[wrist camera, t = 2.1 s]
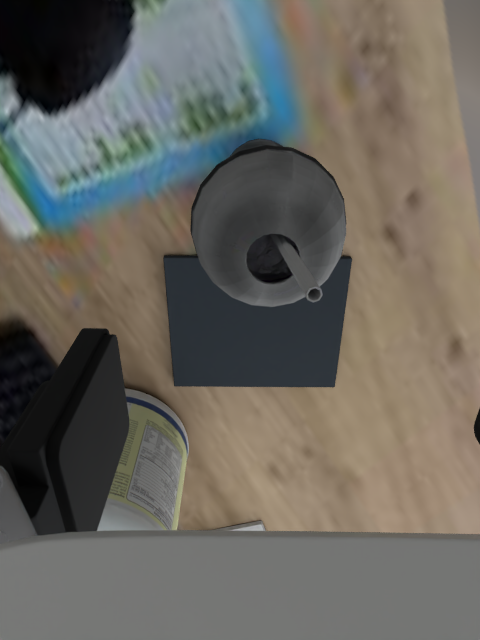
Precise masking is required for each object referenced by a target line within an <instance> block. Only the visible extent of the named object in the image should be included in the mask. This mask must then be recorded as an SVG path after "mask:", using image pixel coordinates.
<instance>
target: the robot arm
mask: <svg viewBox="0 0 480 640" xmlns="http://www.w3.org/2000/svg"><path fill="white" fill-rule="evenodd" d="M128 432H129V414H128V407H127V400H126V394H125V387H124V380H123V374H122V367H121V361H120V354H119V347H118V341H117V337H116V335H110V334H109V331H108V330H107V329H91V328H84V329H82V330H81V331H80V333H79V335H78V336H77V338H76V339H75V341H74V343H73V344H72V346H71V347H70V349H69V351H68V352H67V354H66V355H65V357H64V359H63V360H62V362H61V364H60V365H59V367H58V368H57V370H56V372H55V373H54V375H53V376H52V378H51V380H50V381H46V382H43V383H42V384H41V386H40V387H39V388H38V390H37V391H36V393H35V394H34V396H33V398H32V399H31V401H30V402H29V404H28V405H27V407H26V408H25V410H24V412H23V413H22V415H21V416H20V418H19V419H18V421H17V422H16V424H15V426H14V427H13V429H12V430H11V432H10V433H9V435H8V437H7V438H6V440H5V441H4V443H3V444H2V446H1V447H0V640H480V534H440V533H380V532H314V531H221V530H124V531H97V529H98V526H99V523H100V520H101V517H102V514H103V510H104V507H105V504H106V501H107V498H108V495H109V492H110V489H111V486H112V482H113V479H114V476H115V473H116V470H117V467H118V464H119V461H120V458H121V454H122V451H123V448H124V445H125V442H126V439H127V436H128ZM474 433H475V437H476V439H477V441H478V442H479V444H480V409H479V412H478V415H477V418H476V420H475V424H474Z"/></svg>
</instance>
